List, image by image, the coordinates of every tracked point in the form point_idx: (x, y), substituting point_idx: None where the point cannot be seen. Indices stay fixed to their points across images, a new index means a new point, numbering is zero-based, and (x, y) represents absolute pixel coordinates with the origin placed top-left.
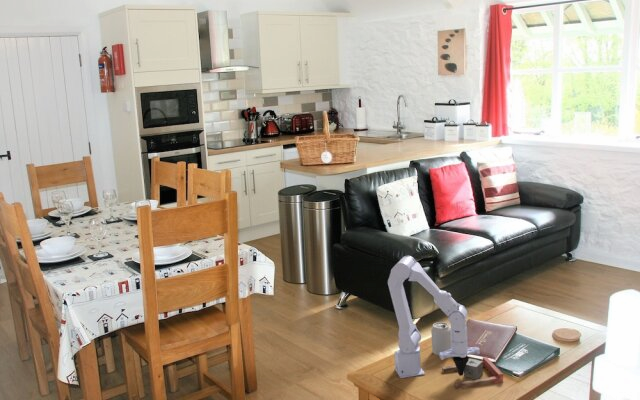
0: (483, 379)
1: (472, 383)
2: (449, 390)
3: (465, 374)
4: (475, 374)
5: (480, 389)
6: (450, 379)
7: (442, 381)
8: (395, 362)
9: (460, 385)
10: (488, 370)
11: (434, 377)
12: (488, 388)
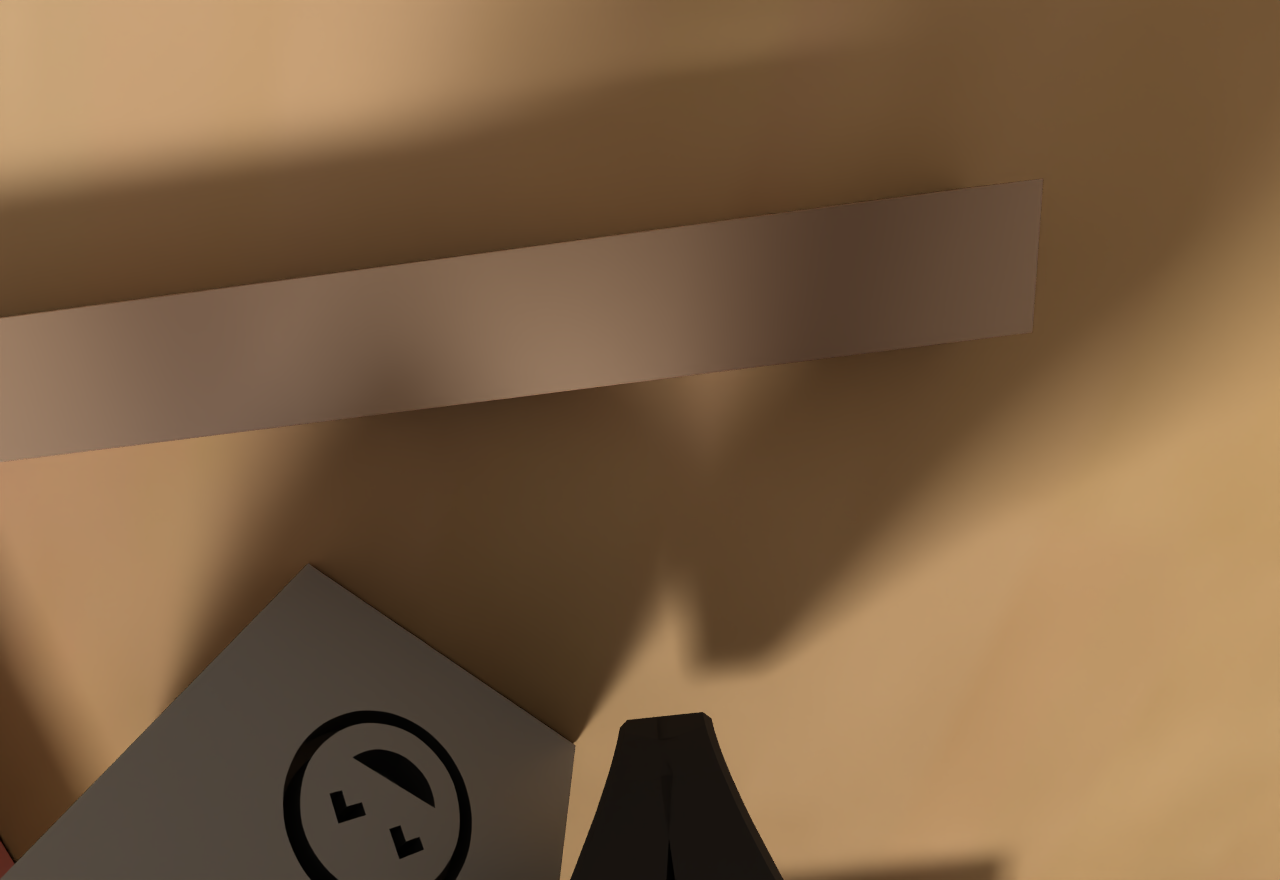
0: (38, 402)
1: (438, 261)
2: (1179, 148)
3: (535, 771)
4: (251, 672)
5: (258, 30)
6: (909, 676)
7: (1124, 626)
8: None
9: (859, 204)
10: (7, 868)
11: (1203, 797)
12: (4, 49)
